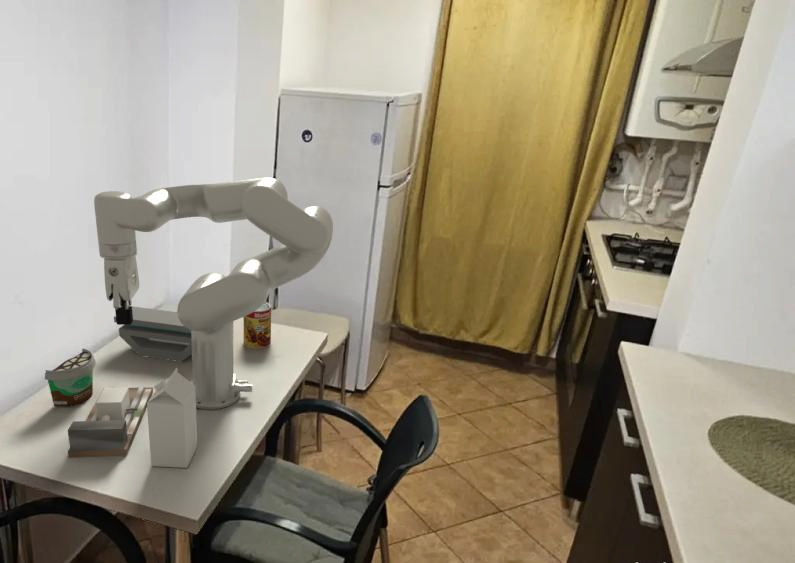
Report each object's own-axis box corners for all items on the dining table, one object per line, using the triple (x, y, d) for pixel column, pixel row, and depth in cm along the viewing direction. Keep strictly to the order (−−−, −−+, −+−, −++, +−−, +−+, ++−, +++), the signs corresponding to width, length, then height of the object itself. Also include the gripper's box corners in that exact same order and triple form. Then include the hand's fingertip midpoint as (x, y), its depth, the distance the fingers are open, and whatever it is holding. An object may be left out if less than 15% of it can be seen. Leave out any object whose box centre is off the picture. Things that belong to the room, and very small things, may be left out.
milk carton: (197, 446, 119) (194, 368, 113) (186, 468, 113) (183, 387, 106) (163, 445, 119) (158, 366, 112) (151, 466, 112) (145, 384, 106)
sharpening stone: (216, 352, 159) (216, 317, 155) (205, 365, 151) (204, 328, 148) (132, 340, 160) (130, 306, 157) (117, 353, 153) (113, 316, 149)
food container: (72, 415, 126) (68, 376, 122) (49, 409, 127) (43, 371, 123) (110, 388, 137) (106, 351, 134) (88, 383, 138) (84, 347, 135)
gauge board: (104, 393, 135) (102, 369, 132) (153, 392, 137) (151, 369, 135) (68, 457, 113) (64, 430, 110) (127, 455, 115) (124, 428, 113)
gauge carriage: (107, 405, 127) (105, 386, 125) (141, 404, 129) (140, 386, 127) (98, 422, 121) (96, 402, 119) (134, 421, 123) (132, 402, 121)
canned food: (261, 351, 162) (262, 313, 158) (238, 345, 164) (238, 307, 160) (275, 340, 169) (276, 304, 165) (252, 334, 171) (252, 298, 167)
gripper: (127, 259, 118) (134, 337, 124) (143, 239, 131) (149, 310, 138) (88, 258, 116) (97, 337, 122) (109, 238, 130) (116, 310, 136)
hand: (125, 323), depth 130 cm, fingers closed
